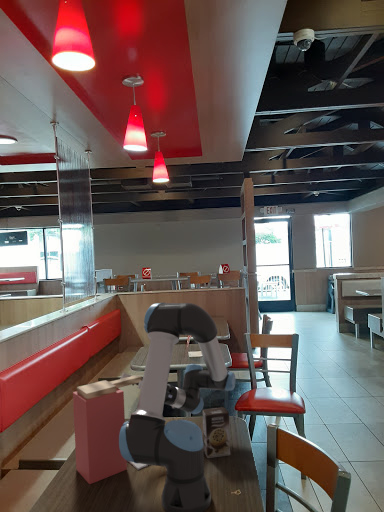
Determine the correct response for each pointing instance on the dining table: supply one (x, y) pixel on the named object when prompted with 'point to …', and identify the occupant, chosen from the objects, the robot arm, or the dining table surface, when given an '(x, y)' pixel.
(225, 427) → the coffee box
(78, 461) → the red rectangular block
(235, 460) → the dining table surface
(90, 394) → the tan flat paddle-shaped piece
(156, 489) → the dining table surface
